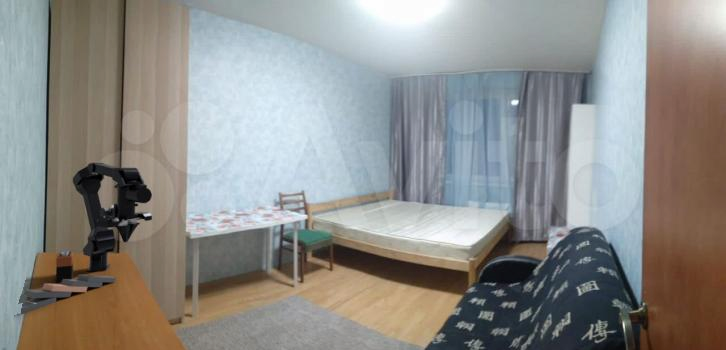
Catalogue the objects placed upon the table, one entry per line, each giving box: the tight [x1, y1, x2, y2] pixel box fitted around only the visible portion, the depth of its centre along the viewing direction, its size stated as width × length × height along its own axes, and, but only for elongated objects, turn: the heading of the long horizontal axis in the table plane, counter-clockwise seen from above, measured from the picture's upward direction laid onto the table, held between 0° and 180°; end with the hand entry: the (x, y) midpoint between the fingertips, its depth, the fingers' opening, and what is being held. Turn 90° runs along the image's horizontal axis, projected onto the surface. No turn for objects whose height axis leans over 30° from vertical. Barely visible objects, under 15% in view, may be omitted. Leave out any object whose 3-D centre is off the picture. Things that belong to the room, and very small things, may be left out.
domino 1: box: [22, 289, 72, 299], centre depth 109 cm, size 2×5×10 cm
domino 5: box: [76, 274, 117, 283], centre depth 123 cm, size 2×5×10 cm
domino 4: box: [60, 278, 104, 288], centre depth 118 cm, size 2×5×10 cm
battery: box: [55, 250, 74, 284], centre depth 127 cm, size 4×7×10 cm, turn 37°
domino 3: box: [41, 282, 89, 293], centre depth 113 cm, size 2×5×10 cm
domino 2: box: [20, 297, 57, 315], centre depth 104 cm, size 2×5×10 cm
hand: (125, 242), depth 133 cm, fingers closed
